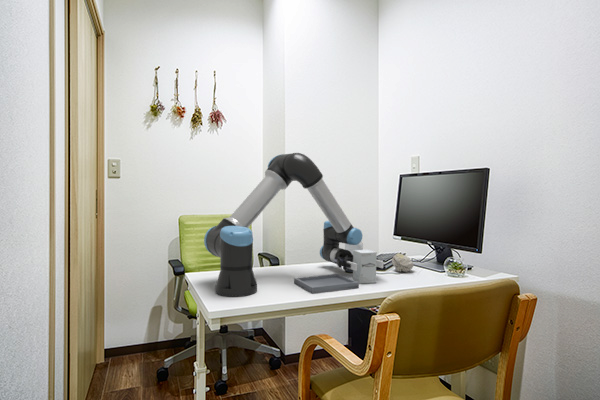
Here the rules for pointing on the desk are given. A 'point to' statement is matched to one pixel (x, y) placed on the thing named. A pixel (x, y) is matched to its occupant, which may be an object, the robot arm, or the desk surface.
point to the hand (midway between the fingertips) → (369, 266)
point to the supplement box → (365, 266)
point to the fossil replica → (402, 263)
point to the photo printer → (354, 247)
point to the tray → (325, 283)
